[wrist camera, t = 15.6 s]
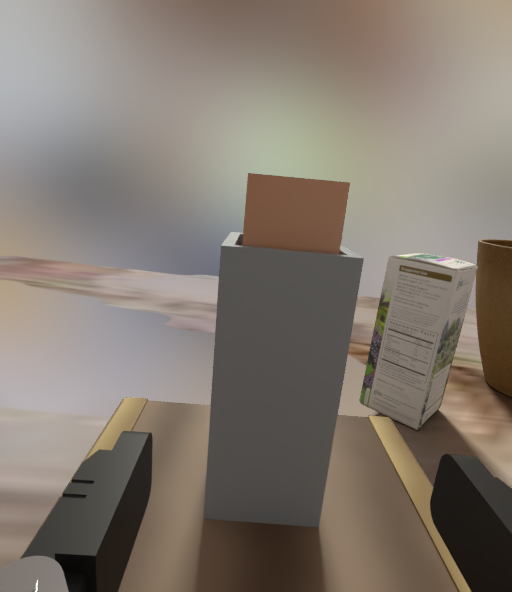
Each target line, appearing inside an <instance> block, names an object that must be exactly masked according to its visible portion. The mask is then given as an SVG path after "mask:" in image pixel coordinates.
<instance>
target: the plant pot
mask: <svg viewBox="0 0 512 592" xmlns="http://www.w3.org/2000/svg"><path fill="white" fill-rule="evenodd" d="M477 266H478V268H477V271H476V317H477V329H478V339H479V347H480V354H481V360H482V366H483V372H484V376H485V380H486V382H487V383H488V384H489V385H490V386H491V387H493V388H494V389H496V390H498V391H499V392H501V393H503V394H505V395H508V396H510V397H512V240H497V239H482V240H479V241H478V252H477Z"/></svg>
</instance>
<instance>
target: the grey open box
mask: <svg viewBox="0 0 512 592" xmlns="http://www.w3.org/2000/svg"><path fill="white" fill-rule="evenodd" d="M242 244H243V233H235V232H231V233H230V234H229V236H228V237H227V238H226V240H225V241H224V242H223V244H222V245H221V256H220V271H219V286H218V302H217V317H216V333H215V349H214V364H213V379H212V394H211V409H210V425H209V440H208V456H207V471H206V486H205V502H204V517H203V519H215V520H228V521H241V522H255V523H268V524H281V525H294V526H308V527H319V523H320V517H321V511H322V505H323V499H324V493H325V487H326V481H327V475H328V469H329V463H330V457H331V451H332V445H333V439H334V433H335V427H336V421H337V415H338V409H339V403H340V396H341V391H342V385H343V379H344V373H345V367H346V361H347V355H348V349H349V343H350V337H351V331H352V325H353V319H354V313H355V307H356V301H357V295H358V289H359V283H360V277H361V271H362V265H363V258H362V257H360V256H359V255H357V254H355V253H354V252H352V251H350V250H348V249H347V248H345V247H343V246H341V245H340V252H339V254H329V253H318V252H307V251H296V250H284V249H273V248H262V247H251V246H242Z"/></svg>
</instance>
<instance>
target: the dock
mask: <svg viewBox="0 0 512 592" xmlns="http://www.w3.org/2000/svg"><path fill="white" fill-rule="evenodd" d="M210 409H211V405H199V404H186V403H171V402H158V401H148V399H144V398H131V397H126V398H125V399H123V400H122V401H121V403H120V404H119V406H118V408H117V409H116V411H115V413H114V414H113V415H112V417H111V418H110V420H109V421H108V423H107V425H106V426H105V428H104V429H103V431H102V432H101V434H100V435H99V437H98V439H97V440H96V442H95V443H94V445H93V446H92V448H91V449H90V451H89V453H88V454H87V456H86V457H85V459H84V460H83V462H84V461H85V460H86V459H88V458H89V457H90V456H91V455H93V454H94V453H95V452H96V451H98V450H99V449H101V450H112V449H113V447H114V445H115V443H116V442H117V440H118V438H119V436H120V434H121V433H122V432H123V431H136V432H150V433H152V438H153V445H152V484H151V492H150V497H149V501H148V505H147V508H146V511H145V514H144V517H143V520H142V523H141V526H140V529H139V532H138V535H137V538H136V540H135V543H134V546H133V549H132V552H131V555H130V558H129V561H128V564H127V567H126V570H125V573H124V576H123V579H122V582H121V585H120V588H119V591H118V592H471V590H470V588H469V587H468V585H467V583H466V581H465V579H464V578H463V576H462V574H461V572H460V570H459V569H458V567H457V565H456V563H455V561H454V560H453V558H452V556H451V554H450V552H449V551H448V549H447V547H446V545H445V543H444V542H443V540H442V538H441V536H440V534H439V533H438V531H437V529H436V527H435V525H434V523H433V520H432V517H431V511H430V499H431V495H432V491H433V485H432V484H431V482H430V481H429V479H428V477H427V476H426V474H425V473H424V471H423V469H422V468H421V466H420V464H419V463H418V461H417V460H416V458H415V456H414V455H413V453H412V451H411V450H410V448H409V447H408V445H407V443H406V442H405V440H404V439H403V437H402V435H401V434H400V432H399V430H398V429H397V427H396V426H395V424H394V422H393V421H392V419H390V418H389V417H380V416H368V417H357V416H343V415H337V421H336V427H335V433H334V439H333V445H332V451H331V457H330V463H329V469H328V475H327V481H326V487H325V493H324V499H323V505H322V511H321V517H320V523H319V527H308V526H294V525H281V524H268V523H255V522H241V521H228V520H215V519H203V517H204V502H205V486H206V471H207V456H208V440H209V425H210ZM81 464H82V463H81ZM79 467H80V466H79ZM76 472H77V471H76ZM74 475H75V474H74ZM72 478H73V477H72ZM71 480H72V479H71ZM71 480H70V482H69V483H71ZM67 486H68V485H67ZM65 489H66V488H65ZM63 492H64V491H63ZM62 494H63V493H62ZM62 494H61V496H60V497H62ZM60 497H59V498H60ZM58 500H59V499H58ZM56 503H57V502H56ZM54 506H55V505H54ZM53 508H54V507H53ZM53 508H52V509H53ZM51 511H52V510H51ZM51 511H50V512H51ZM49 514H50V513H49ZM47 517H48V516H47ZM45 520H46V519H45ZM44 522H45V521H44ZM44 522H43V523H44ZM42 525H43V524H42ZM42 525H41V526H42ZM40 528H41V527H40ZM38 531H39V530H38ZM37 533H38V532H37ZM37 533H36V534H37ZM35 536H36V535H35ZM35 536H34V537H35ZM33 539H34V538H33ZM33 539H32V540H33ZM31 542H32V541H31ZM31 542H30V543H31ZM29 545H30V544H29ZM28 547H29V546H28ZM28 547H27V548H28ZM26 550H27V549H26ZM26 550H25V551H26ZM24 553H25V552H24ZM24 553H23V554H24ZM22 556H23V555H22ZM22 556H21V557H22Z"/></svg>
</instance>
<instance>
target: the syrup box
mask: <svg viewBox="0 0 512 592" xmlns="http://www.w3.org/2000/svg"><path fill="white" fill-rule="evenodd" d="M477 268H478V266H476V265H475V264H472V263H469V262H465V261H462V260H458V259H454V258H450V257H445V256H440V255H433V254H419V253H414V254H405V255H398V256H391V257H389V259H388V263H387V268H386V273H385V278H384V283H383V288H382V293H381V298H380V302H379V307H378V312H377V317H376V322H375V327H374V332H373V337H372V342H371V347H370V352H369V357H368V362H367V366H366V372H365V376H364V381H363V387H362V391H361V396H360V402H361V404H363V405H365V406H367V407H369V408H371V409H373V410H375V411H377V412H379V413H381V414H383V415H386V416H388V417H390V418H392V419H394V420H396V421H399V422H401V423H403V424H405V425H407V426H410V427H412V428H414V429H416V430H418V429H420V428H421V427H422V426H423V424H424V423H425V422H426V421H427V420H428V419H429V418H430V417H431V416H432V415H433V414H434V413H435V412H436V411H437V410H438V409H439V408H440V406H441V402H442V399H443V395H444V391H445V388H446V384H447V380H448V377H449V373H450V369H451V365H452V361H453V358H454V354H455V350H456V347H457V343H458V339H459V336H460V332H461V328H462V325H463V321H464V317H465V313H466V309H467V305H468V302H469V297H470V294H471V290H472V286H473V282H474V279H475V275H476V271H477Z"/></svg>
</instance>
